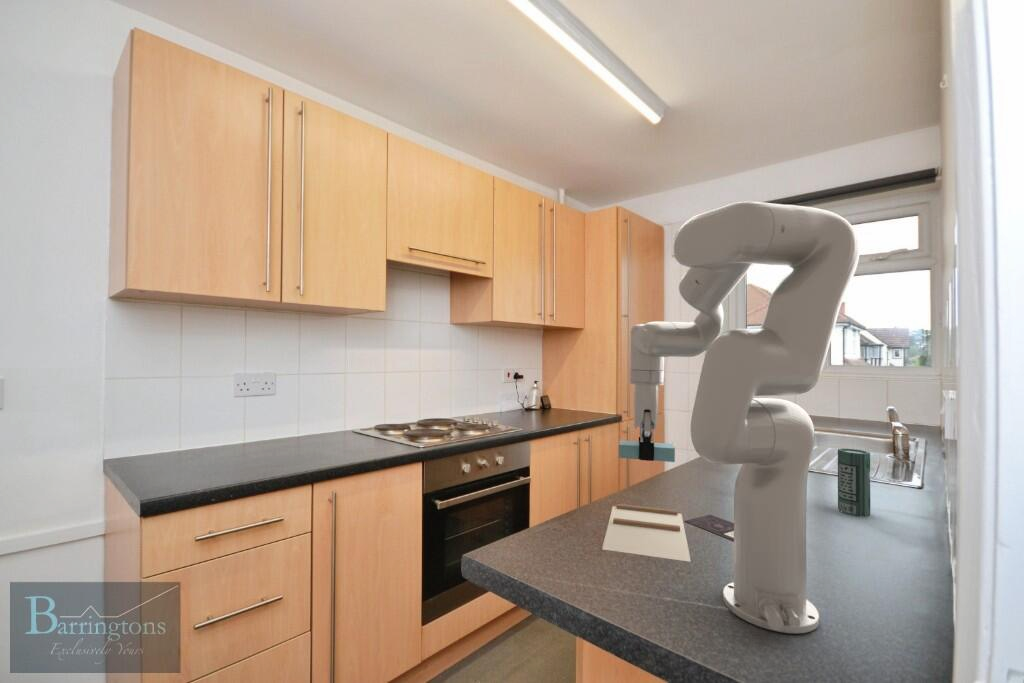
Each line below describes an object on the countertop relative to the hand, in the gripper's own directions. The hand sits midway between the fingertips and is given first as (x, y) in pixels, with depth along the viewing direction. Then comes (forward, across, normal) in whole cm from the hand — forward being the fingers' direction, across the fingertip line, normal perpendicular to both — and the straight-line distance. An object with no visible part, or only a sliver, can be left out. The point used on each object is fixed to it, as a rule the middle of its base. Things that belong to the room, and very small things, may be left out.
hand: (646, 456), depth 103 cm
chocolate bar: (+15, +2, +18) cm, 24 cm away
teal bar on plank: (0, 0, 0) cm, 0 cm away
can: (+15, -22, +50) cm, 57 cm away
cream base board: (+15, +6, 0) cm, 16 cm away
